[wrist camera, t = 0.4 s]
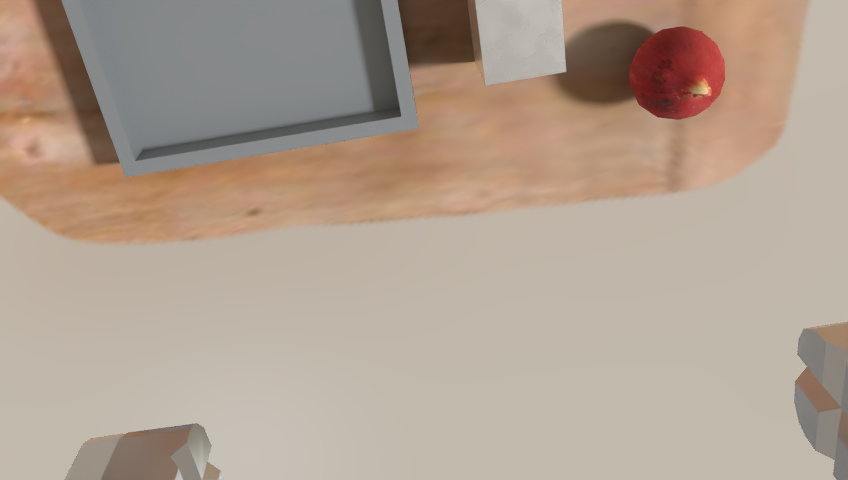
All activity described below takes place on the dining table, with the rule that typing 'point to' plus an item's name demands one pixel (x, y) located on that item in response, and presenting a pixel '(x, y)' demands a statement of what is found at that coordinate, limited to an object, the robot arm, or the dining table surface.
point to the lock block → (517, 38)
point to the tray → (241, 75)
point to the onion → (677, 73)
